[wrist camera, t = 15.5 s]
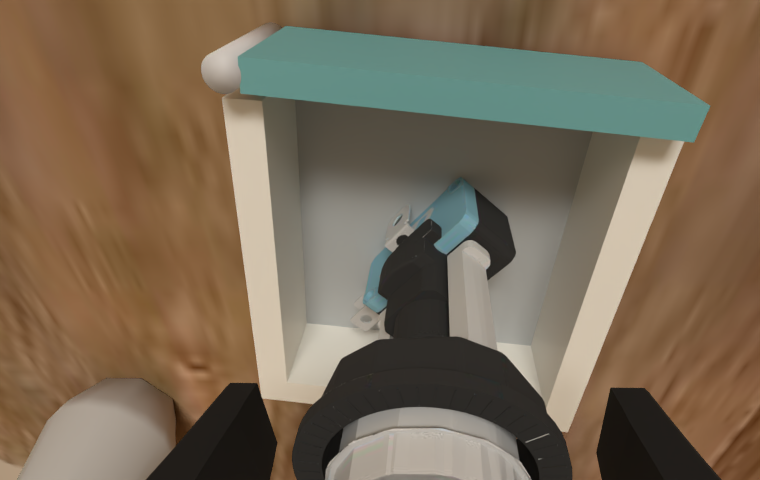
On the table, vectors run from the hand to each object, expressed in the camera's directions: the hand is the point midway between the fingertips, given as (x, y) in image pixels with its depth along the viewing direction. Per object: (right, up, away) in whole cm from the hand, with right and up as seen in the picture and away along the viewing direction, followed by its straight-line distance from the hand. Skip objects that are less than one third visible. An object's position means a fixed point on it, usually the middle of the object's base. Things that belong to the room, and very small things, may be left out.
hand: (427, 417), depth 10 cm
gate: (+1, +9, +4) cm, 10 cm away
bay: (+1, +4, +7) cm, 8 cm away
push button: (0, +4, +7) cm, 8 cm away
